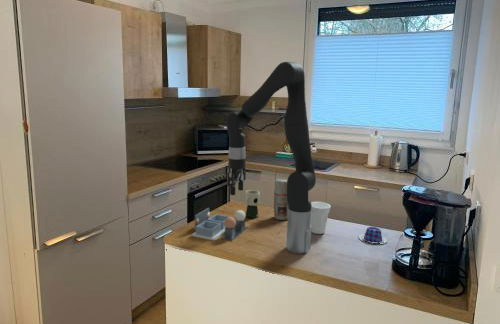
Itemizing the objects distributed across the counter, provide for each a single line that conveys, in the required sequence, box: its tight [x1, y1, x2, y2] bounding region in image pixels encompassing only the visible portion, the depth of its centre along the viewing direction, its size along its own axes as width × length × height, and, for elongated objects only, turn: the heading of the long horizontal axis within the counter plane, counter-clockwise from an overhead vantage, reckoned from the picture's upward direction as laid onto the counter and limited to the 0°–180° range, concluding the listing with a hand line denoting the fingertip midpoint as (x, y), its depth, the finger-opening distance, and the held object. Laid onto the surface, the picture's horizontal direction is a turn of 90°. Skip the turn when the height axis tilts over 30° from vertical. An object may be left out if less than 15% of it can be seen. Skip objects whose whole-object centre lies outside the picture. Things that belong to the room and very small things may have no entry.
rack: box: [191, 213, 230, 241], centre depth 179 cm, size 11×20×4 cm, turn 157°
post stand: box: [221, 219, 248, 242], centre depth 176 cm, size 5×16×5 cm, turn 157°
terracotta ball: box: [224, 216, 236, 229], centre depth 170 cm, size 5×5×5 cm
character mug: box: [244, 189, 261, 218], centre depth 197 cm, size 11×7×13 cm, turn 149°
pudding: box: [358, 226, 388, 245], centre depth 174 cm, size 12×12×5 cm
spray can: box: [273, 178, 288, 221], centre depth 196 cm, size 8×8×20 cm
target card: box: [194, 207, 211, 233], centre depth 181 cm, size 1×13×8 cm, turn 157°
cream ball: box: [233, 209, 246, 221], centre depth 179 cm, size 5×5×5 cm
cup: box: [310, 201, 332, 235], centre depth 179 cm, size 10×10×13 cm
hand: (236, 192), depth 177 cm, fingers open, 8 cm apart
